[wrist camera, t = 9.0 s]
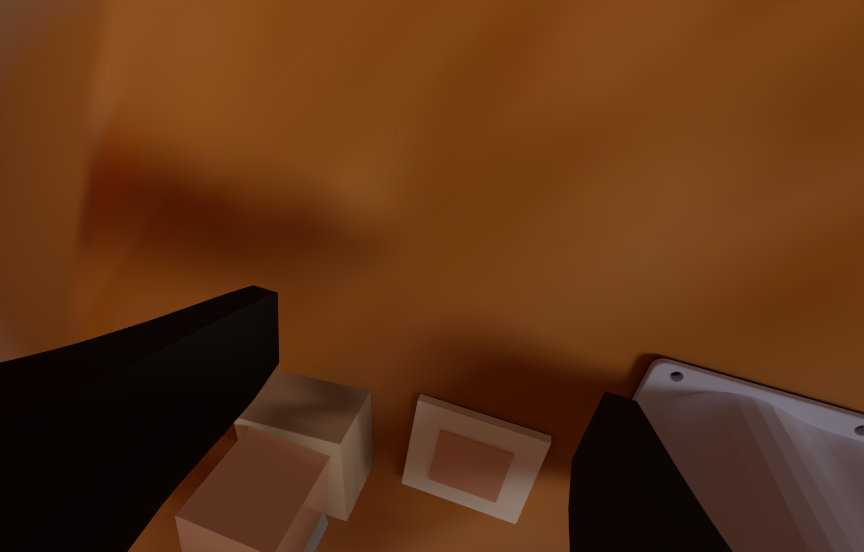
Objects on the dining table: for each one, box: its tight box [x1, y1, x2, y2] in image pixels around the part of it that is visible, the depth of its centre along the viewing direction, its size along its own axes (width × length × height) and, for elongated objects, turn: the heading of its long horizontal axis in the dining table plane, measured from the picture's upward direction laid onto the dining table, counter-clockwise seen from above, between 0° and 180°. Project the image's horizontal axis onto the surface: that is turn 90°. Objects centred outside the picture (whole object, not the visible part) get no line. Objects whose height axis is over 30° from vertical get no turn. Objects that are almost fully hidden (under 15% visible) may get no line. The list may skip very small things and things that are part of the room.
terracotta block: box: [175, 426, 330, 552], centre depth 21 cm, size 4×4×5 cm
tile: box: [402, 394, 551, 524], centre depth 24 cm, size 7×7×1 cm
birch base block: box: [234, 370, 373, 521], centre depth 25 cm, size 6×6×4 cm
